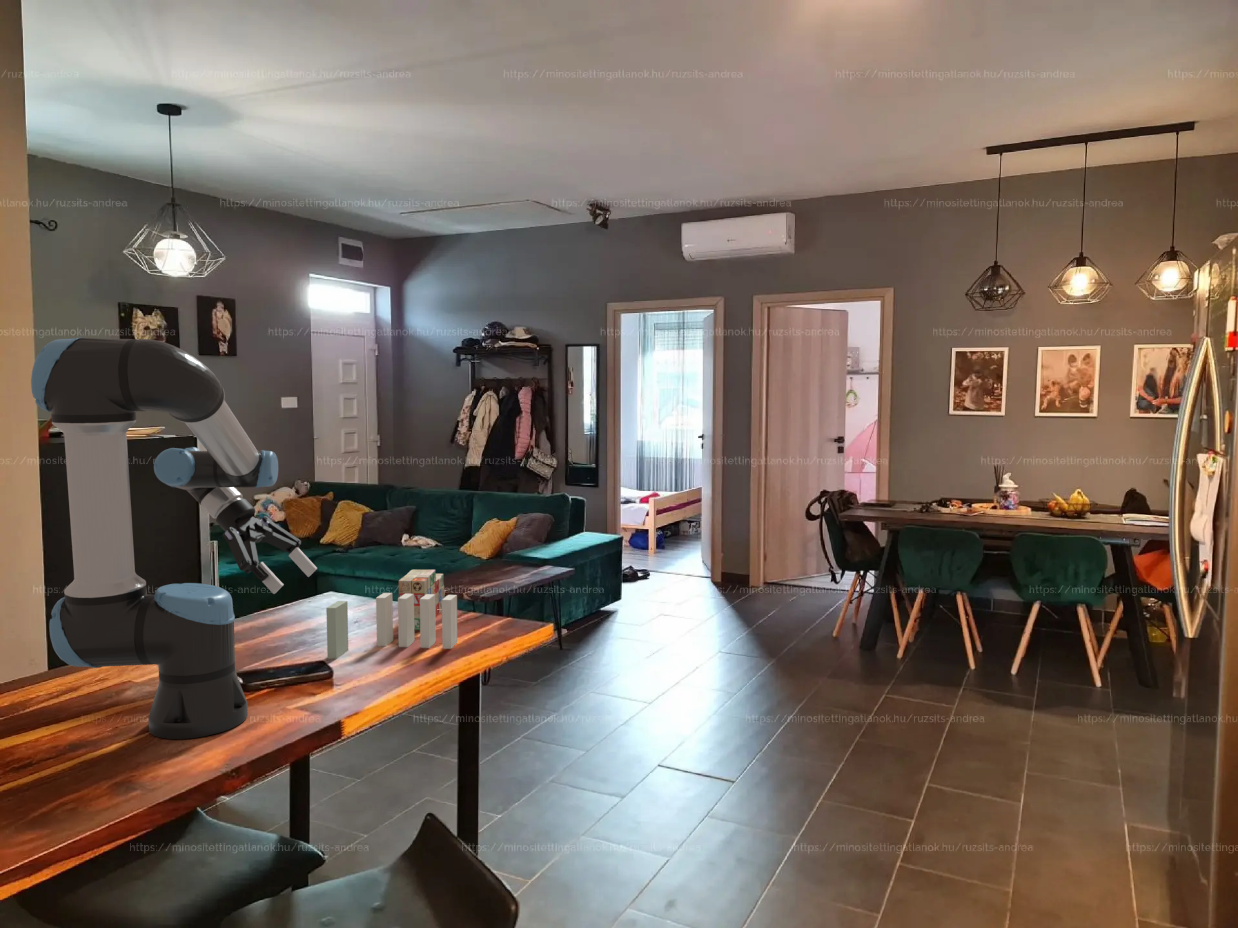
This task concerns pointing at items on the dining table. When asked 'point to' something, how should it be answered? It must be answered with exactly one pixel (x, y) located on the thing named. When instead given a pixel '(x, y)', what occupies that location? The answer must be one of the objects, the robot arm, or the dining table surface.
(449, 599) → the domino
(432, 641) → the domino
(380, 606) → the domino
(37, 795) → the dining table surface
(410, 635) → the domino
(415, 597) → the stack of blocks
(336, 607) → the sage domino
